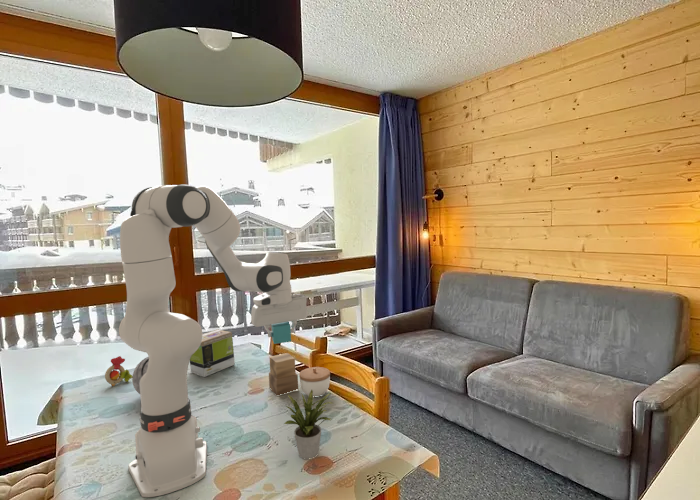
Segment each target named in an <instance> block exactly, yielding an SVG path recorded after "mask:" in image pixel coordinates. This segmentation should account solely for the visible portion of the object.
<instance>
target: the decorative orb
mask: <svg viewBox="0 0 700 500" xmlns="http://www.w3.org/2000/svg"><path fill="white" fill-rule="evenodd" d="M148 363H149V356H146V357H145V358H143V359H142V360H141V361H140V362H139V363H138V364H137V365H136V366H135V368H134V370H133V373H132V376H133V377H132V378H131V380H132V386H133V388H134V390H135V392H137V393H138V394H139V395H140V384H139V383H140V379H141V378H142V376H143V375H144V374H145V373H146V372H147V368H148Z"/></svg>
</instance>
